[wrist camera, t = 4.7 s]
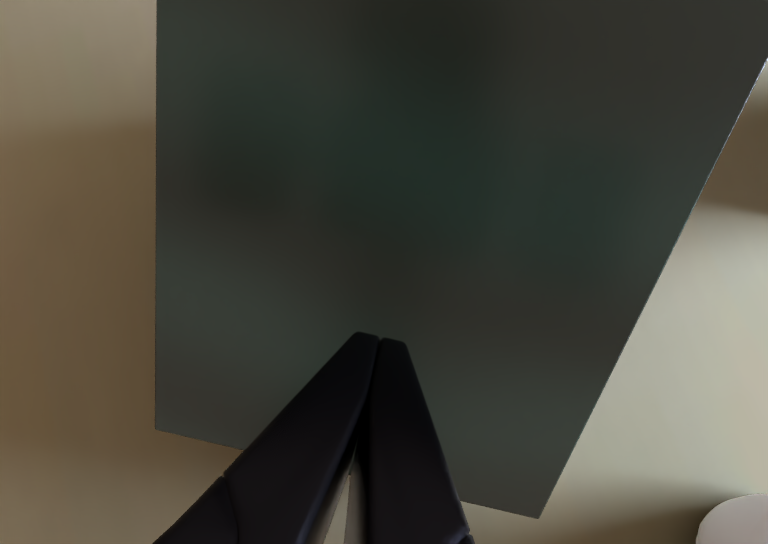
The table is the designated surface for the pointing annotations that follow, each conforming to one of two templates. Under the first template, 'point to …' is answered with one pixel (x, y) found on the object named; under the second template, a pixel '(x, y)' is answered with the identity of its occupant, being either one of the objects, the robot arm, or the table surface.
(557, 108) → the cover
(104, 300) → the table surface
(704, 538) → the water bottle
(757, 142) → the table surface
